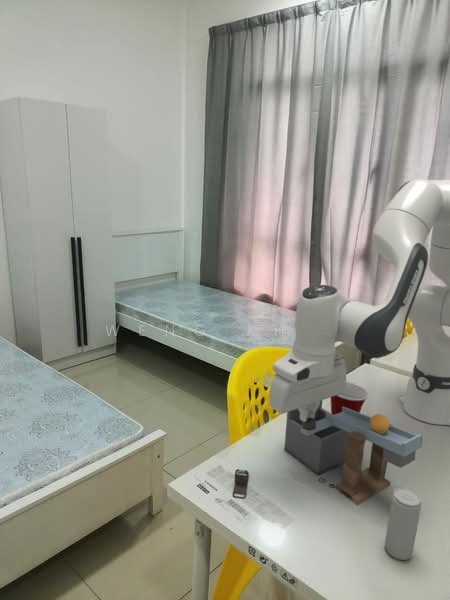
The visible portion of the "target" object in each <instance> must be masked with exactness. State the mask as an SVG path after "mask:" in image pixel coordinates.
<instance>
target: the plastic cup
mask: <svg viewBox="0 0 450 600" xmlns="http://www.w3.org/2000/svg"><path fill="white" fill-rule="evenodd" d="M369 395H370V394H369V392H368V390H367V389H365V388H364V387H363V386H361V385H359V384H356V383H353V382H351V381H347V380H346V388H345V390H344V392H343V393H341V394H339V395H336V396H333V397H330V398H329V399H330V411H331V412H330V413H331V414H333V415H335V414H338V413H340V412H342V407H345V408H348V409H351V410H353V411H356V412H358V413H361V411H362V407H363V405H364V403H366V402H365V401H366V400H367V399H369Z"/></svg>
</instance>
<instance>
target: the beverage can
mask: <svg viewBox="0 0 450 600" xmlns="http://www.w3.org/2000/svg"><path fill="white" fill-rule="evenodd" d="M421 509H422V497H421V496H420V495H419V494H418V493H417V492H416V491H414V490H413V489H410V488H408V487H398V488H395V489H394V491H393V493H392V497H391V501H390V507H389V513H388V514H389V515H388V520H387V527H386V533H385V539H384V540H385V541H384V547H385V550H386V551H387V553H388V554H389V555H390V556H391V557H393V558H394V559H396V560H399V561H406V560H409V559H411V558H412V556H413V553H414V552H413V551H414V547H415V542H416V536H417V530H418V526H419V519H420V514H421Z"/></svg>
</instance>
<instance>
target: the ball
mask: <svg viewBox="0 0 450 600" xmlns="http://www.w3.org/2000/svg"><path fill="white" fill-rule="evenodd" d="M369 424H370V428H371V429H372V431H373V432H375V433H377V434H384V433H386V432H387V431H388V429H389V426H390V425H389V424H390V420H389V419H388V418H387V417H386V416H385V415H383V414H374V415H373V416H372V417H371V419H370V422H369Z"/></svg>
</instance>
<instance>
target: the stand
mask: <svg viewBox="0 0 450 600" xmlns="http://www.w3.org/2000/svg"><path fill="white" fill-rule="evenodd" d="M389 424H390V425H392V424H391V423H389ZM392 426H394V425H392ZM365 444H366V440H365V437H363V436H361V435H359V434H358V433H356V432H354V431H353V432H351V433H349V434H348V436H347V444H346V452H345V460H344V463H343V470H342V479H341V481H340V482H338V483H336V484H335V490H337V491H338V492H340V493H341V494H343V495H344V496H345V497H346V498H348V499H349V500H351V501H352V502H353V503H355V505H359V504H360V503H363V502H364V501H366V500H368V499H369V498H371V497H373V496H374V495H376V494H378V493H380V492H381V491H383V490H384V489H386V488H388V487H390V486H391V481H390V479H389V480H388V479H387V478H386V473H387V465H388V462H387V461H385V460H383V447H381V446H379V445H376V444H374V443H372V445H371V453H370V459H369V465H368V467H366V468H364V469H363V470H362V466H363V460H364V452H365Z"/></svg>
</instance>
